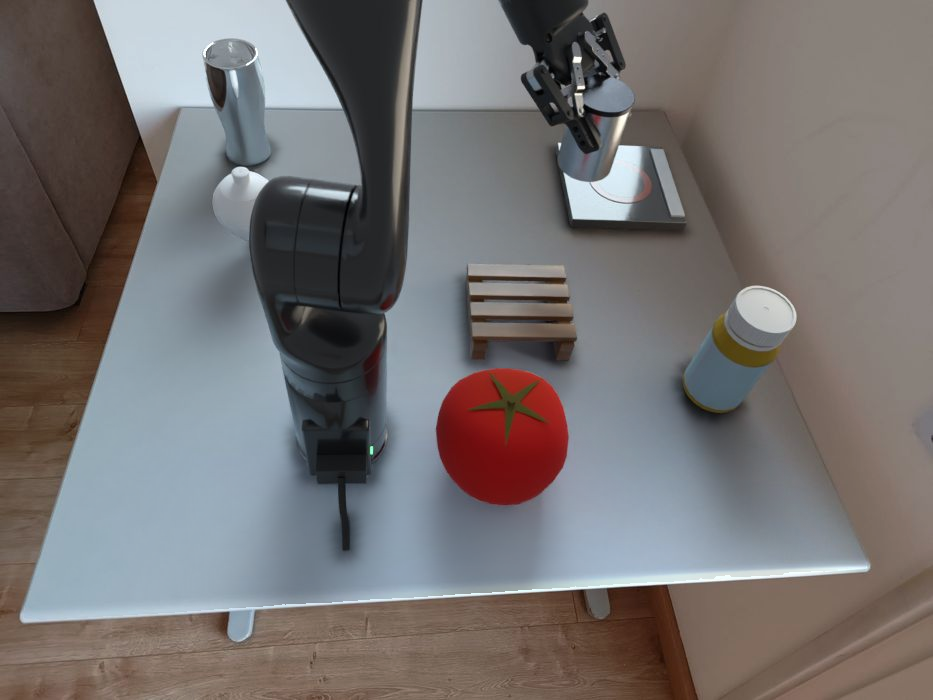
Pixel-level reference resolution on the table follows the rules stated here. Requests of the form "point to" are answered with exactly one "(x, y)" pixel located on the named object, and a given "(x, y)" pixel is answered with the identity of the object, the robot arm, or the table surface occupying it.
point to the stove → (627, 194)
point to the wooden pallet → (519, 307)
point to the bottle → (739, 349)
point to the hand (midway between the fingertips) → (608, 134)
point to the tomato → (502, 435)
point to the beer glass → (238, 98)
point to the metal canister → (598, 128)
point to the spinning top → (237, 200)
